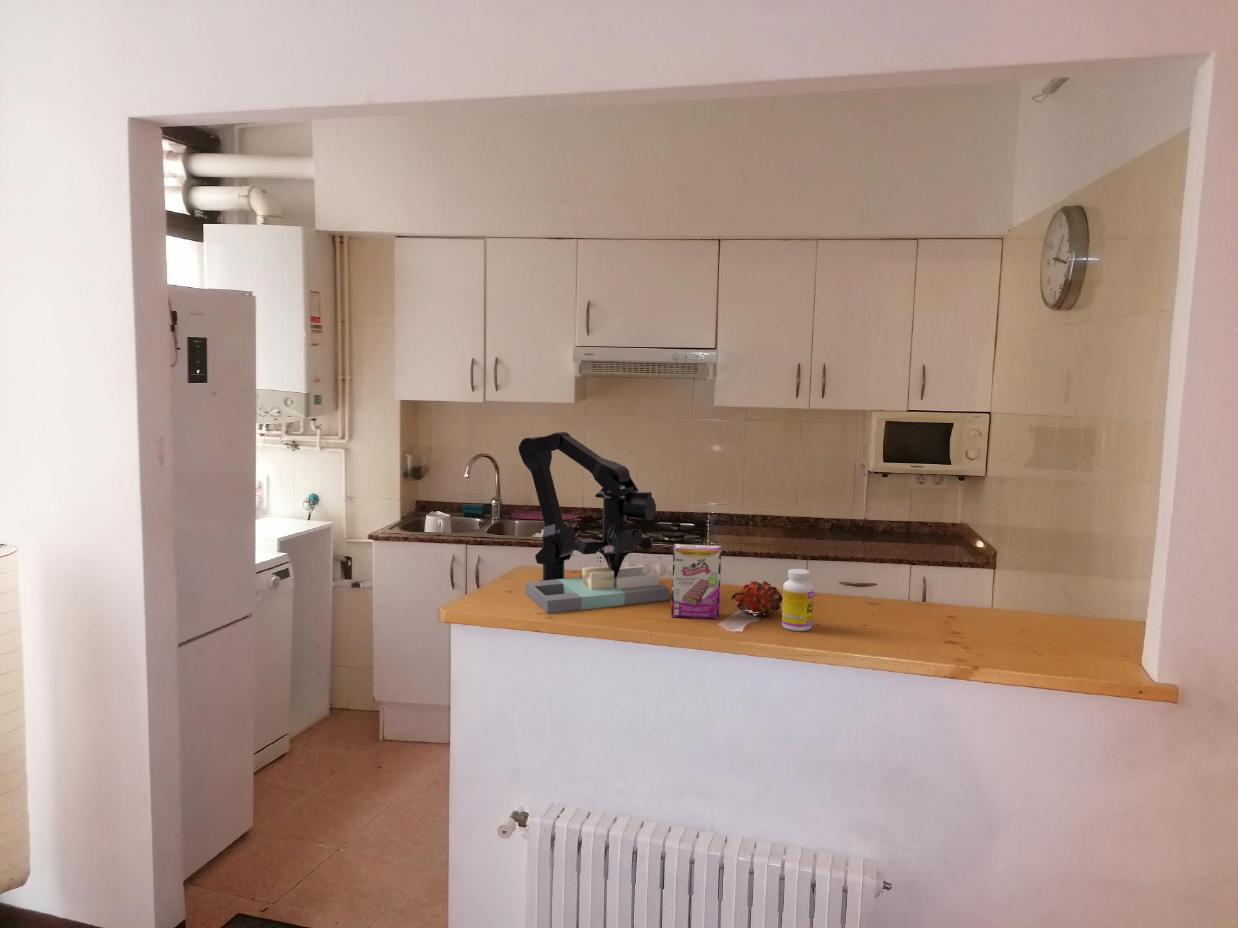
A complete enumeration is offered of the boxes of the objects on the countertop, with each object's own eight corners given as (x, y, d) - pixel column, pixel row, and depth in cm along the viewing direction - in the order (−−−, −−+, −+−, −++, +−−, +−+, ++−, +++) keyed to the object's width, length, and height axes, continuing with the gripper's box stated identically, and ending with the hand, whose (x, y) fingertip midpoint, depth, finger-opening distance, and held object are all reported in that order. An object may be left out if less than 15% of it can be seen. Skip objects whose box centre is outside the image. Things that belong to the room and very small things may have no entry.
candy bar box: (671, 617, 200) (672, 548, 198) (671, 611, 205) (673, 543, 203) (720, 619, 199) (721, 549, 197) (719, 613, 203) (721, 544, 201)
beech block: (582, 583, 217) (582, 568, 217) (604, 581, 220) (604, 565, 219) (591, 589, 212) (591, 573, 211) (613, 587, 214) (614, 571, 214)
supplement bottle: (809, 633, 189) (811, 575, 188) (779, 629, 191) (781, 573, 190) (814, 624, 195) (816, 569, 194) (784, 621, 198) (786, 566, 196)
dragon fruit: (785, 624, 201) (734, 626, 204) (786, 595, 207) (736, 598, 211) (780, 600, 196) (727, 603, 199) (780, 572, 202) (729, 575, 205)
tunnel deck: (525, 593, 219) (525, 572, 218) (639, 582, 231) (639, 562, 230) (547, 613, 202) (547, 590, 202) (669, 599, 214) (669, 578, 214)
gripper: (591, 524, 205) (591, 589, 207) (662, 519, 212) (662, 581, 214) (575, 516, 215) (575, 578, 217) (643, 511, 222) (643, 571, 224)
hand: (614, 577), depth 218 cm, fingers closed
